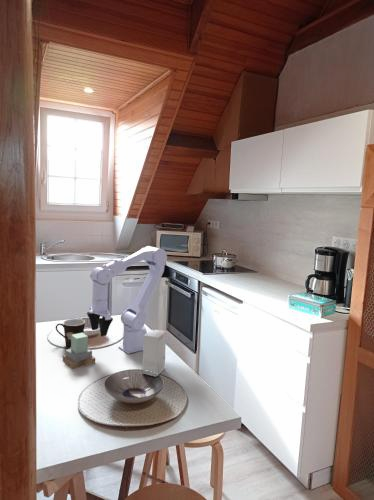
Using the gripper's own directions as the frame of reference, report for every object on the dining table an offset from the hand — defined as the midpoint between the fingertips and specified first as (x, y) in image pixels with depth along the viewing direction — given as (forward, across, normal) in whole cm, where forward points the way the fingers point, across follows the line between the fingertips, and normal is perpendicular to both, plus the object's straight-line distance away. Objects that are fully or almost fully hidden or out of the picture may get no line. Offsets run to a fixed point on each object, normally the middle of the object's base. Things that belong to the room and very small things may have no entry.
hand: (99, 332), depth 143 cm
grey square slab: (+8, 0, -8) cm, 11 cm away
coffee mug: (+10, -17, -4) cm, 20 cm away
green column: (+6, 0, -8) cm, 10 cm away
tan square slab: (+11, 0, -8) cm, 13 cm away
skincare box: (+10, +22, +11) cm, 27 cm away
